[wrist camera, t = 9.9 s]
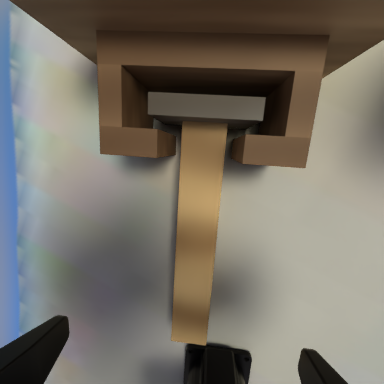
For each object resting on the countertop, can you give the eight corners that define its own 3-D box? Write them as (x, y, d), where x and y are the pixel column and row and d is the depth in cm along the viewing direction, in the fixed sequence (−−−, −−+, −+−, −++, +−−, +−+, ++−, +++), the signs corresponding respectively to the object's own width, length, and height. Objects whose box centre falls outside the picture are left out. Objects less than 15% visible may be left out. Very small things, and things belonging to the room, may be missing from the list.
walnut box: (303, 163, 16) (415, 180, 7) (109, 150, 17) (4, 151, 8) (323, 50, 14) (503, -107, 6) (107, 44, 15) (-28, -92, 7)
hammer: (224, 318, 20) (228, 374, 15) (159, 310, 20) (143, 361, 15) (248, 113, 16) (265, 97, 11) (166, 109, 16) (148, 92, 11)
